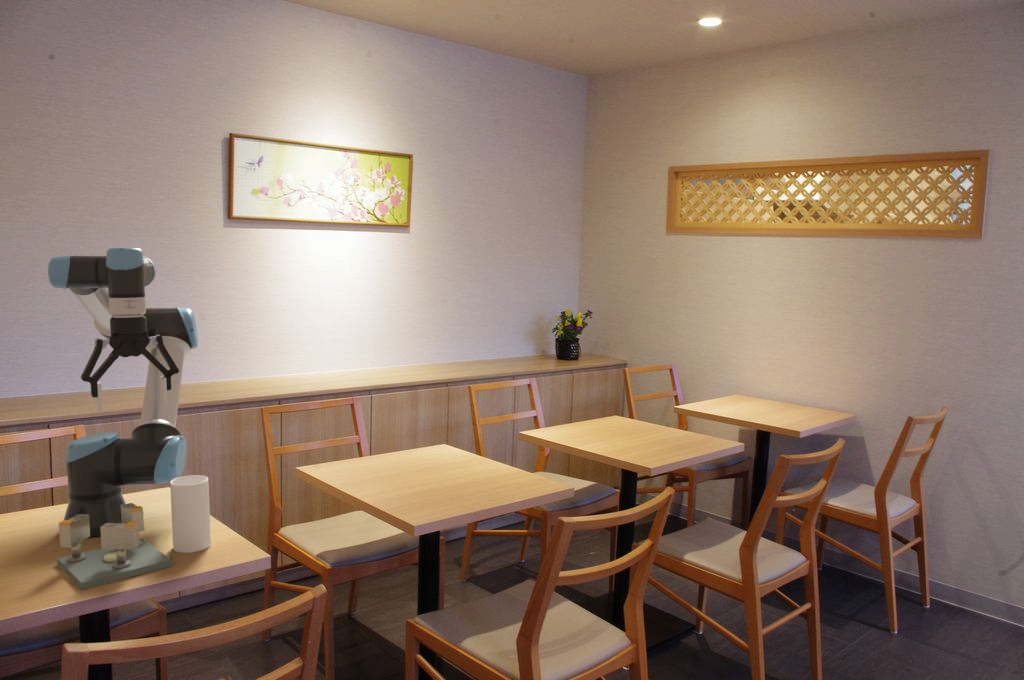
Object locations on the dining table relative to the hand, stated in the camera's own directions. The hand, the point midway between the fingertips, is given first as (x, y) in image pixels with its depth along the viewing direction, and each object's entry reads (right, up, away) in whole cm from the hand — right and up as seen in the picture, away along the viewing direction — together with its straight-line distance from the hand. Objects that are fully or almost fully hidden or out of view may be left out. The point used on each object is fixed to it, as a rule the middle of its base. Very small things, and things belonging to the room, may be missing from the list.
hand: (133, 407), depth 183 cm
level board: (0, -34, -8) cm, 35 cm away
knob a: (-8, -33, -8) cm, 35 cm away
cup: (+12, -33, +4) cm, 35 cm away
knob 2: (0, -32, 0) cm, 32 cm away
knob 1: (+3, -33, -12) cm, 35 cm away
